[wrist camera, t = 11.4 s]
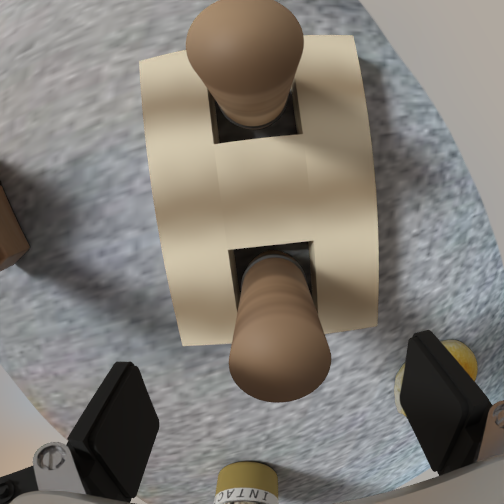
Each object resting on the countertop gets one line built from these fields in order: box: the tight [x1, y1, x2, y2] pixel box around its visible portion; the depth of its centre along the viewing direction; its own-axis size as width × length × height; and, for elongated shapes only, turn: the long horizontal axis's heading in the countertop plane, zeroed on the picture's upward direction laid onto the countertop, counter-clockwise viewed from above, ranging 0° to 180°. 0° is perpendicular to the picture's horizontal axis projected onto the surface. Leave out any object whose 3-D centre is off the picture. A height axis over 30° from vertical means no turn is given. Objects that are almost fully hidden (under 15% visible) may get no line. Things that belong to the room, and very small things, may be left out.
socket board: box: [139, 35, 379, 346], centre depth 20 cm, size 20×14×3 cm
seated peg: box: [186, 0, 304, 130], centre depth 15 cm, size 4×4×12 cm
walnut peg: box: [229, 250, 331, 402], centre depth 18 cm, size 4×4×12 cm
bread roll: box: [394, 340, 478, 417], centre depth 24 cm, size 8×9×4 cm
